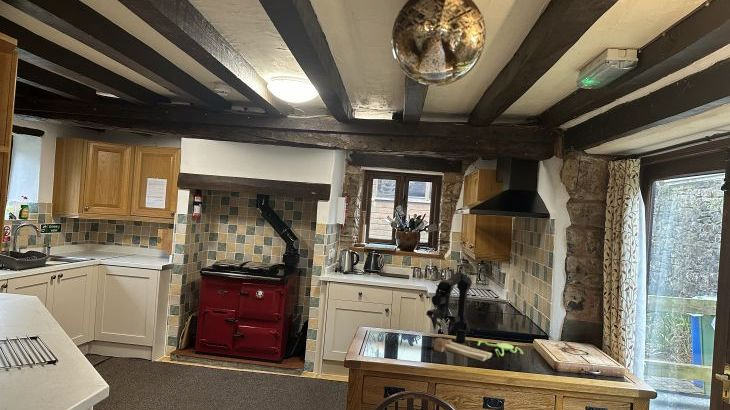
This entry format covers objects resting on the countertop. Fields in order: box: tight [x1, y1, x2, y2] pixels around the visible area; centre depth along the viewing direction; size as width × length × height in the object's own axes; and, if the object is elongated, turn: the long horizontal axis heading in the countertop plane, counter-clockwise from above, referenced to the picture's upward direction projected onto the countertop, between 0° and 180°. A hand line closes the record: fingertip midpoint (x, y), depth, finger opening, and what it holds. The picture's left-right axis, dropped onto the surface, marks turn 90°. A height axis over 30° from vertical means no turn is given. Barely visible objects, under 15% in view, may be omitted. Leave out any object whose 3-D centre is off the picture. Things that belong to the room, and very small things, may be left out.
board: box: [446, 341, 493, 362], centre depth 271 cm, size 12×28×2 cm, turn 52°
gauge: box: [433, 337, 453, 353], centre depth 274 cm, size 16×5×6 cm, turn 142°
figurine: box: [476, 340, 524, 358], centre depth 279 cm, size 18×26×6 cm
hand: (441, 330), depth 271 cm, fingers open, 9 cm apart
